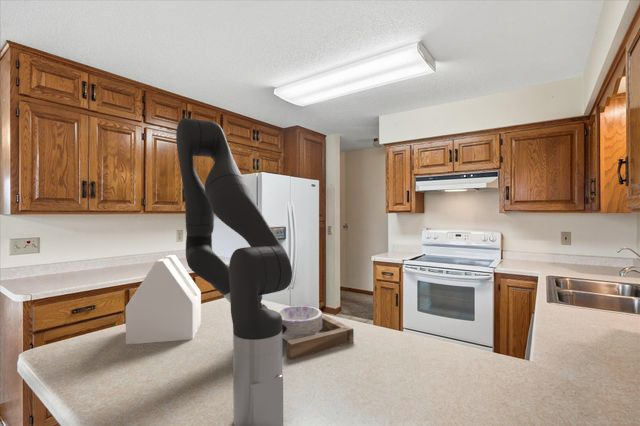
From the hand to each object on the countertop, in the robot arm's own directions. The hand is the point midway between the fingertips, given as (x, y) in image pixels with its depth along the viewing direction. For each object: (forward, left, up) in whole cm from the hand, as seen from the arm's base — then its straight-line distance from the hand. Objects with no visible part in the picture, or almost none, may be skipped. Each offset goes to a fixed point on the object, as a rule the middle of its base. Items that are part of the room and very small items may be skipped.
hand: (278, 327), depth 101 cm
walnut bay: (0, -9, -5) cm, 10 cm away
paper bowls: (0, -7, -5) cm, 8 cm away
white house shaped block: (+27, +28, -5) cm, 39 cm away
